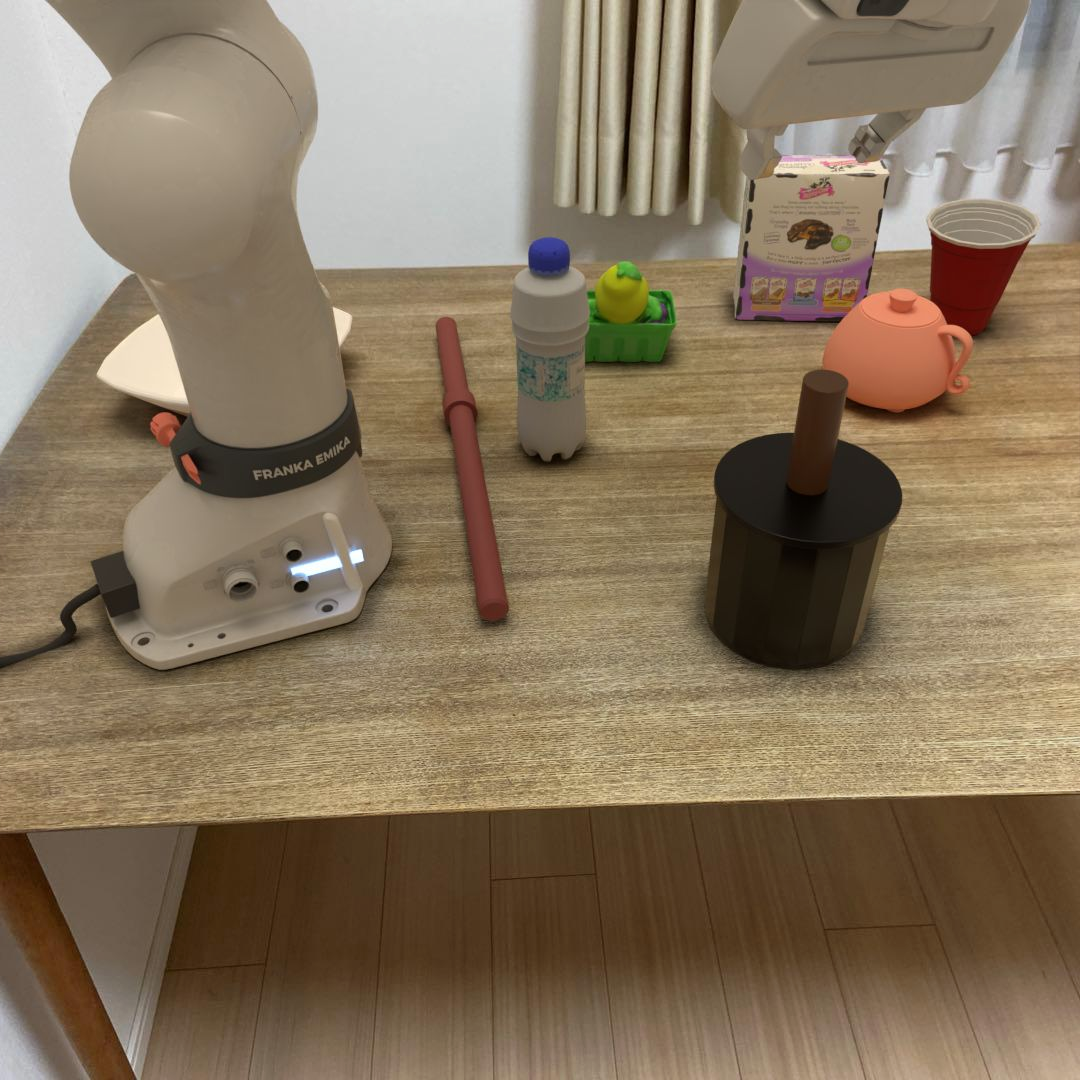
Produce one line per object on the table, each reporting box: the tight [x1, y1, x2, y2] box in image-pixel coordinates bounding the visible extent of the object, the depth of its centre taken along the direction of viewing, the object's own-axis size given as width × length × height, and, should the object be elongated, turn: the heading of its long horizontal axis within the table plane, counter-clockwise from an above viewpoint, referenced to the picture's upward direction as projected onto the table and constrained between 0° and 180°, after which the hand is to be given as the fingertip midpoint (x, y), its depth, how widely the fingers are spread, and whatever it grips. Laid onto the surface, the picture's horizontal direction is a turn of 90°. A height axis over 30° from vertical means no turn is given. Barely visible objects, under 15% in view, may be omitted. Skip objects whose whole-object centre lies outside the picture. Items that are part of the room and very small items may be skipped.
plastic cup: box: [925, 197, 1042, 337], centre depth 106 cm, size 11×11×12 cm
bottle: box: [509, 236, 590, 462], centre depth 87 cm, size 7×7×20 cm
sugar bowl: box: [821, 288, 974, 413], centre depth 97 cm, size 12×14×10 cm
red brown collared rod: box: [434, 316, 510, 621], centre depth 92 cm, size 45×3×3 cm, turn 9°
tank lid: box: [713, 369, 903, 549], centre depth 67 cm, size 12×12×9 cm
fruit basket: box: [585, 261, 678, 363], centre depth 103 cm, size 11×9×11 cm
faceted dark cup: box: [703, 496, 891, 670], centre depth 73 cm, size 12×12×12 cm
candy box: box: [732, 154, 891, 322], centre depth 108 cm, size 14×6×16 cm, turn 84°
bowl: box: [96, 306, 353, 417], centre depth 101 cm, size 22×22×5 cm
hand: (808, 164), depth 65 cm, fingers open, 8 cm apart
